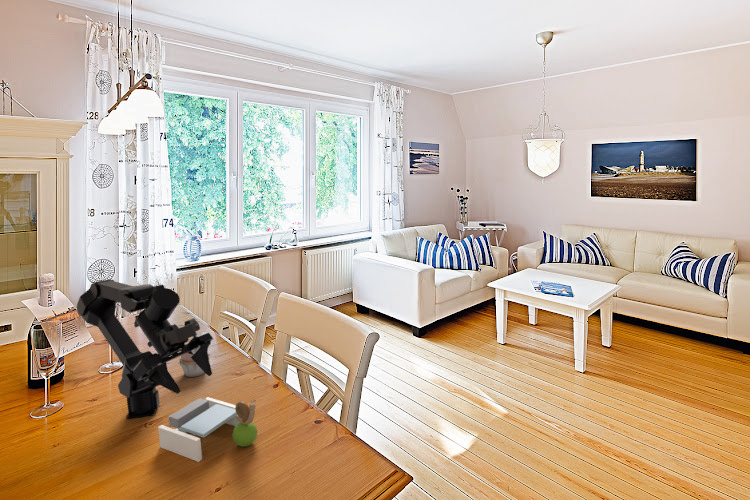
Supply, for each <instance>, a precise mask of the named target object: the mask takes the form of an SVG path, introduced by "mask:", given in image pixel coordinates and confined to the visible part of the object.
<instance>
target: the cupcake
mask: <svg viewBox="0 0 750 500" xmlns="http://www.w3.org/2000/svg"><path fill="white" fill-rule="evenodd" d="M192 356H193V355H192V354H189V353H188V352H187V353H185V354H183V355H181V356H180V358H178V364H179V366H180V367H181V368H182V372H183V374H184V376H186V377H189V378H195V377H200V376H202V375H204V374H206V373H205V372H204V371H203V370H202V369H201V368H200V367H199V366H198V365H197V364H196V363H195V362H194V361H193V360H192V359H191V357H192ZM210 356H211V354H210V353H208V358H209V360H210V359H211V357H210Z"/></svg>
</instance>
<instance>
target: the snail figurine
mask: <svg viewBox="0 0 750 500" xmlns="http://www.w3.org/2000/svg"><path fill="white" fill-rule="evenodd" d="M250 402H251V404H249V405H248V404H247V403H246V402H244V401H238V402H237V403H236V404H235V405H236V407H235V410H236V413H237V415H236V418H237V420H238V421H239V422H240V423H238V424H237V425H236V426H234V428H233V430H232V439H233V442H234V444H235V445H237V446H239V447H244V448H245V447H249V446H250V445H252V444H253V443H254V442H255V441H256V439H257V436H258V428H257V426H256V424H254V422H253V421H254V418H255V415H256V402H257V400H256V399H253V400H251V401H250Z"/></svg>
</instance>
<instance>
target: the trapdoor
mask: <svg viewBox="0 0 750 500" xmlns="http://www.w3.org/2000/svg"><path fill="white" fill-rule="evenodd" d="M236 415H237V413H236V410H235V409H232V408H229V407H226V406H222V405H219V404H215V405H214V406H212V407H211V408H209V401H208V400H205V398H201V397H198V398H197V399H195V400H194V401H192V402H190V403H189V404H187V405H186V406H183V407H182V408H180V409H179V410H177V411H175V412H174V413H172V414H170V415H169V416H168V422H169V424H168V426H169V427H171V428H173V429H176V428H177V429H180V428H181V430H183V431H186V433H190V434H191V435H195V436H198V437H199V438H200V437H201V438H205V437H207V436H209V435H210V434H212V433H213V432H214V431H216V430H217V429H219V428H220V427H221V426H223V425H224V424H227V423H226V422H227V421H228V420H230V419H231V418H233V417H234V416H236Z"/></svg>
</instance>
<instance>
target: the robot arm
mask: <svg viewBox="0 0 750 500" xmlns="http://www.w3.org/2000/svg"><path fill="white" fill-rule="evenodd" d="M117 303H120V308H121V309H122V310H124V311H126V312H127V313H130V314H131V313H134V312H139V311H140V312H139V313H138V314H137V315H135V316H134V322H133V325H134V327H135V328H138V327H139V328H140V329H141V331H142V332H143V334H144V335H145V336H146V338H147V339H148V342H147V344H146V345H147V346H148V348H151V347H153V349H154V350H155V351H156V352H154V353H153V352H151V351H149V350H147V351H145V352H142V351H140V349H139V348H138V346H137V345H136V343H135V342H134V340H133V339H132V338H131V336H130V335H129V333H128V331H126V328H125V327H124V326H123V324H122V323H121V322H120V320H119V319H118V318H117V316H116V308H117ZM179 303H180V296H179V294H178V293H177V292H176V291H175V290H173V289H171V288H167V287H165V286H164V284H158V285H155V286H154V285H152V284H150V283H149V284H139V285H129V284H126V283H122V282H118V281H115V280H114V279H110V278H109V279H103V280H98V281H94V282H92V283H91V284H90V287H89V289H87V290H86V291H85V292H84V293H82V294H81V295H80V297H79V298H78V300H77V303H76V311H77V314H78V315H79V316H80V317H81V318H82V319H83V320H84V321H85V323H86V324H89V325H92V326H93V327H97V328H98V329H99V331H100V332H101V334H102V336H103V338H105V340H106V342H107V343H108V345H109V346H110V348H111V350H113V352H114V354H115V355H116V357H117V358H118V359H119V361H120V362H121V364H122V371H121V379H120V381H119V383H118V385H117V387H118V390H119V393H120V394H121V395H122V396H124V397H126V404H127V405H126V406H127V412H128V413H127V414H126V416H125V418H126V419H134V418H141V417H148V416H149V417H150V416H154V415H155V414H156V411H157V409H158V408H159V407H160V395H159V390H158V389H157V388H156V387H158V386H161V387H163V388H165V389H167V390H169V391H171V392H173V393H174V394H177V395H178V394H180V393H181V389H180V387H179V385H178V383H177V382H176V381H175V379H174V378H173V376H172V375H171V373H170V371H169V370H168V365H167V363H168V362H170V361H172V360H175V359H176V358H179V357H181V355H183V354H185V353H187V352H188V353H189V354H192V355H193V356H192V357H191V359H192V360H193V361H194V362H195V363H196V364H197V365H198V366H199V367H200V368H201V369H202V370H203V371H204V372H205V373H204V374H206V375H207V376H208V377H210V376H212V374H213V372H212V371H213V370H212V368H211V364H210V359H209V358H208V354H209V353H208V352H209V351H208V350H209V346H210V345H211V342H212V341H213V340H214V337H213V336H212V335H211V333H210V332H208V331H203V332H201V333H198V334H197V332H198V331H200V329H201V326H200V324H199V322H198V320H197V319H195V318H194V317H193V318H191V319H188V320H185V321H184V326H180V327H179V326H178V325H177V324H176V323H175V324H171V322H169V320H168V319H170V317H171V316H172V314H173V313H174V311H175V310H176V308H177V307H178V306H179ZM190 338H191V339H190ZM189 340H190V341H189ZM186 343H187V344H186Z"/></svg>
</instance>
